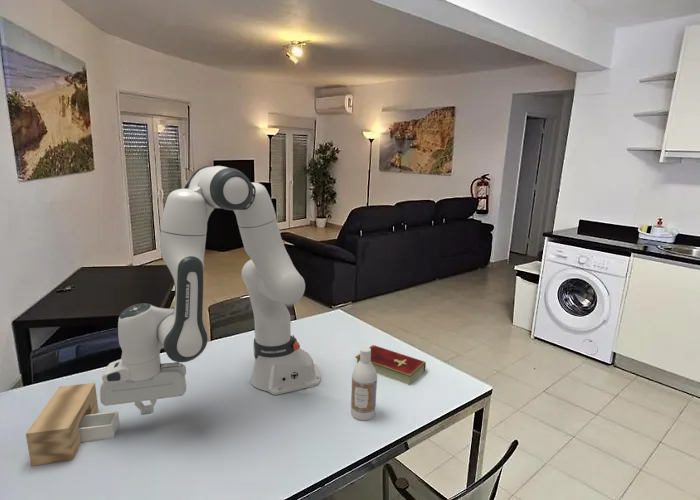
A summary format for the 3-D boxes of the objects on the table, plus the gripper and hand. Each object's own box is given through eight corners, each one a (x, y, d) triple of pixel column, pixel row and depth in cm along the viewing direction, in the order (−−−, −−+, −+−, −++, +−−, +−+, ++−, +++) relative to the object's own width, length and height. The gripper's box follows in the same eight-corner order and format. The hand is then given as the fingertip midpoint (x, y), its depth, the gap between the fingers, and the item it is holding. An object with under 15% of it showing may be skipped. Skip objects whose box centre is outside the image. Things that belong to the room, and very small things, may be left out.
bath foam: (347, 418, 118) (349, 352, 113) (354, 404, 124) (357, 341, 120) (371, 423, 116) (374, 356, 111) (377, 409, 122) (380, 345, 118)
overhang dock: (98, 410, 118) (95, 382, 116) (73, 459, 99) (68, 428, 97) (63, 414, 116) (59, 386, 114) (31, 465, 97) (25, 433, 95)
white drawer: (119, 424, 113) (118, 411, 112) (113, 438, 107) (112, 425, 106) (59, 431, 109) (57, 418, 108) (50, 447, 103) (48, 433, 103)
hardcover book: (373, 354, 156) (373, 343, 155) (425, 371, 145) (426, 360, 144) (355, 367, 147) (355, 355, 146) (409, 386, 135) (410, 375, 134)
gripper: (186, 355, 114) (190, 400, 117) (102, 364, 109) (108, 411, 112) (183, 367, 108) (188, 414, 112) (94, 377, 103) (101, 426, 106)
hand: (147, 413), depth 112 cm, fingers closed
